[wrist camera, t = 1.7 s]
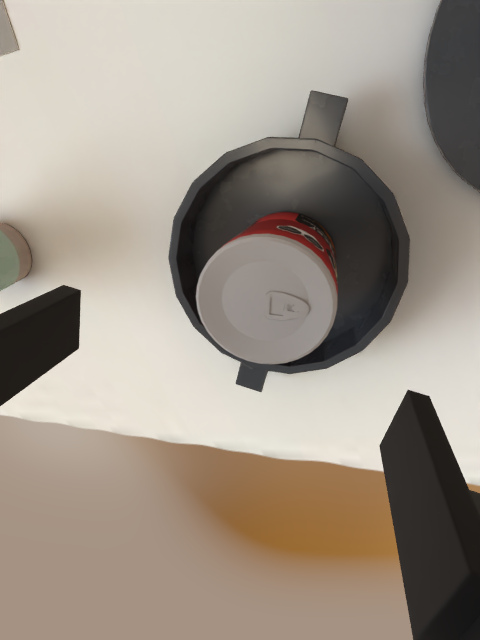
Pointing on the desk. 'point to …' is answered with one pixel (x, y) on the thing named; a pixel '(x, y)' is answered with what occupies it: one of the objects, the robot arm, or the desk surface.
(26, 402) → the desk surface
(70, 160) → the desk surface
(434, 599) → the robot arm
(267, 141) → the pan
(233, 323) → the canned food
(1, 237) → the coffee cup
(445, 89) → the pan lid
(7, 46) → the grey rectangular mat
